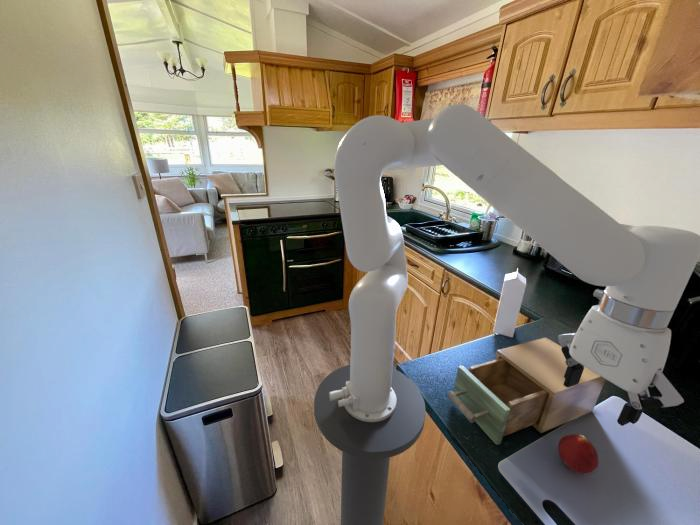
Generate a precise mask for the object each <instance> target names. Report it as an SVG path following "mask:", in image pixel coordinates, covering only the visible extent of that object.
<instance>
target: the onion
mask: <svg viewBox="0 0 700 525" xmlns="http://www.w3.org/2000/svg"><path fill="white" fill-rule="evenodd" d="M557 443H558V444H557V453H558V455H559V457H560V459H561V460H562V462H563V463H564V464H565V465H566V466H567V467H568V468H569V469H570V470H572V471H573V472H575V473H578V474H582V475H586V474H592V473H593V472H595V471H596V470H597V468H598V467H599V463H600V462H599V453H598V451H597V450H596V448H595V446H594V445H593V443H592V442H590V440H589V439H587V437H586V436H584V435H583V434H580V433H579V434H573V433H572V434H566V435H563V436H562V437H561V438H560V440H559V441H558V442H557Z"/></svg>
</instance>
